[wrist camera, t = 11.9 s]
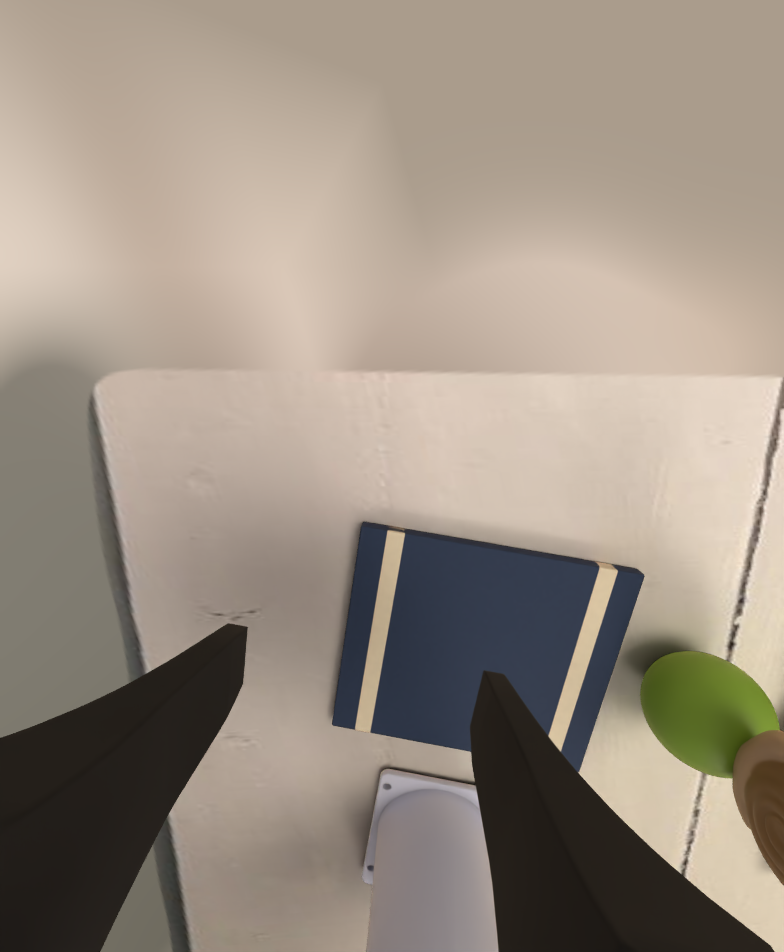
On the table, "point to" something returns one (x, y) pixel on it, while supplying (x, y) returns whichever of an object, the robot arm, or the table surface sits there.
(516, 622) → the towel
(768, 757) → the snail figurine
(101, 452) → the table surface
